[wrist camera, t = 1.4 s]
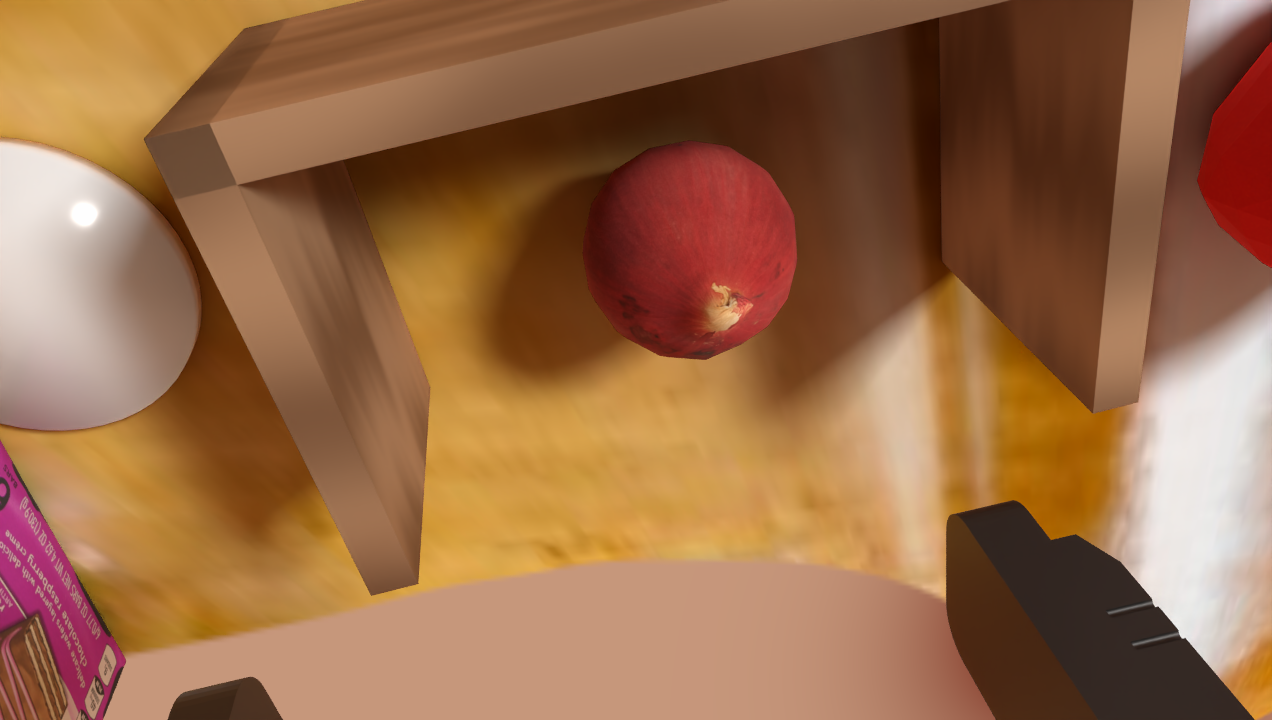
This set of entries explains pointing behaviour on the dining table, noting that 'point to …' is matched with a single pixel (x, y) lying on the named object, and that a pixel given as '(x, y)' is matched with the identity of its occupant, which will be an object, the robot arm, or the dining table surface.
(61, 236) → the coaster
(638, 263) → the onion
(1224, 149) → the tomato
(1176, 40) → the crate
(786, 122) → the dining table surface
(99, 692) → the candy bar box
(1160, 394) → the dining table surface
